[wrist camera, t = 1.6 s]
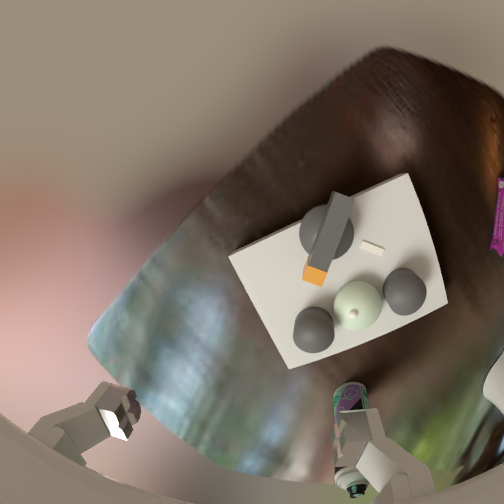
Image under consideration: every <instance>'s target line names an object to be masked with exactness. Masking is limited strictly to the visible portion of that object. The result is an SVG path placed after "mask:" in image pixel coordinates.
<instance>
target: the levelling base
mask: <svg viewBox="0 0 504 504" xmlns="http://www.w3.org/2000/svg"><path fill="white" fill-rule="evenodd" d="M350 198H352V199H355V201H354V204H353V207H352V210H351V212H350V215H349V218H350V220H351V221H352V224H353V227H354V239H353V243H352V245H351V247H350V248H349V250H348V251H347V252H346V253H345V254H344V255H343V256H341V257H340V258H338V259H335V260H332V262H331V265H330V267H329V269H328V273H327V276H326V278H325V281H324V283H323V285H322V287H320V286H317V285H315V284H312V283H309V282H306V281H303V280H302V275H303V268H304V265H305V263H306V260H307V258H308V256H309V254H308V253H307V252H306V251H305V250H304V248H303V246H302V244H301V242H300V238H299V229H300V224H301V221H302V219H301V220H299V221H297V222H295V223H293V224H291V225H288V226H286V227H284V228H282V229H280V230H278V231H276V232H273V233H271V234H269V235H267V236H265V237H263V238H261V239H259V240H257V241H254V242H252V243H250V244H248V245H246V246H244V247H242V248H240V249H238V250H235V251H234V252H233V253H232V254H231V255H230V256H228V257H229V259H230V261H231V263H232V265H233V266H234V268H235V270H236V272H237V274H238V276H239V278H240V280H241V282H242V284H243V285H244V287H245V289H246V291H247V293H248V295H249V297H250V299H251V300H252V302H253V304H254V306H255V308H256V310H257V312H258V314H259V315H260V317H261V319H262V321H263V323H264V325H265V326H266V328H267V330H268V332H269V334H270V336H271V338H272V339H273V341H274V343H275V345H276V347H277V348H278V350H279V352H280V354H281V356H282V358H283V359H284V361H285V363H286V365H287V367H288V368H289V369H292V368H295V367H298V366H301V365H304V364H307V363H310V362H313V361H316V360H319V359H322V358H325V357H328V356H331V355H333V354H336V353H339V352H341V351H344V350H347V349H349V348H352V347H355V346H357V345H360V344H362V343H365V342H367V341H369V340H372V339H374V338H377V337H379V336H381V335H384V334H386V333H388V332H390V331H393V330H395V329H397V328H399V327H401V326H404V325H406V324H408V323H410V322H412V321H414V320H416V319H418V318H420V317H422V316H424V315H426V314H428V313H430V312H432V311H434V310H436V309H438V308H440V307H442V306H443V305H445V304H447V303H448V301H447V296H446V292H445V287H444V283H443V278H442V274H441V270H440V266H439V263H438V259H437V255H436V252H435V248H434V245H433V241H432V238H431V235H430V232H429V229H428V225H427V222H426V219H425V217H424V214H423V211H422V208H421V205H420V203H419V200H418V197H417V195H416V192H415V190H414V187H413V185H412V182H411V180H410V177H409V175H408V173H403V174H399V175H396V176H394V177H392V178H390V179H388V180H385V181H383V182H381V183H379V184H377V185H375V186H372V187H370V188H368V189H366V190H364V191H361V192H359V193H357V194H355V195H353V196H351V197H350Z"/></svg>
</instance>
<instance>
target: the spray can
mask: <svg viewBox="0 0 504 504" xmlns="http://www.w3.org/2000/svg"><path fill="white" fill-rule="evenodd" d="M362 409H363V410H364V409H370V408H369V402H368V397H367V391H366V388H365V386H364V385H363V384H361V383H359V382H348V383H345V384H342V385H341V386H339V387H338V388H337V389H336V391H335V393H334V413H335V423H337V418H336V417H337V414H338V412H339V411H349V410H362ZM335 485H336V486H337V487H338V488H341V489H345V490H346V491H347V492H349V493H350V498H356V497H359V496H363V495H364V491H365V490H366V489H367V488H368V486H369V485H371V484H370V482H369V481H368V480H367V479H366V478H365V477H364V476H363V475H362V474H361V472H360V471H359V470H358V469H357V468H356V466H345V467H335Z"/></svg>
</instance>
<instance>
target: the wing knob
mask: <svg viewBox="0 0 504 504" xmlns="http://www.w3.org/2000/svg"><path fill="white" fill-rule="evenodd" d="M354 201H355V199H352V198H350V197H347V196H345V195H342V194H340V193H337V192H334V191H332V193H331V196H330V199H329V202H328V204H322V205H318V206H315V207H313V208H311V209H310V210H309V211H308V212H307V213H306V214H305V215H304V217H303V219H302V221H301V224H300V229H299V238H300V242H301V244H302V246H303V248H304V250H305V251H306V252H307V253H308V254H309V256H308V258H307V260H306V263H305V265H304V268H303V275H302V280H303V281H306V282H309V283H312V284H315V285H317V286H320V287H322V285H323V283H324V281H325V278H326V276H327V273H328V269H329V267H330V265H331V262H332V260H335V259H338V258H340V257H341V256H343V255H344V254H345V253H346V252H347V251H348V250H349V248H350V247H351V245H352V243H353V239H354V227H353V224H352V221H351V220H350V218H349V215H350V212H351V210H352V207H353V204H354Z"/></svg>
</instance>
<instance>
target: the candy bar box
mask: <svg viewBox="0 0 504 504" xmlns="http://www.w3.org/2000/svg"><path fill="white" fill-rule="evenodd" d="M490 250H491V251H493V252H495V253H497V254H499V255H500V256H502V257H504V177H498V188H497V201H496V211H495V220H494V227H493V234H492V240H491V245H490Z"/></svg>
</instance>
